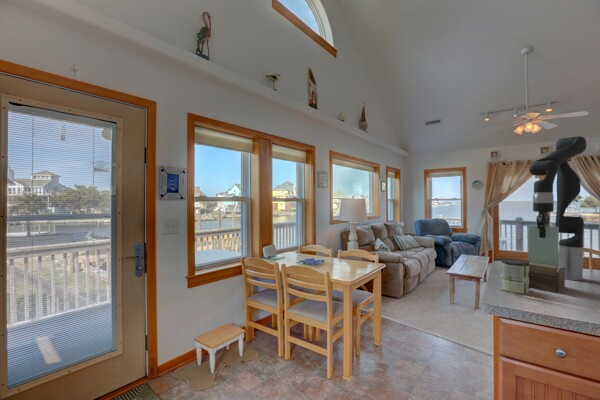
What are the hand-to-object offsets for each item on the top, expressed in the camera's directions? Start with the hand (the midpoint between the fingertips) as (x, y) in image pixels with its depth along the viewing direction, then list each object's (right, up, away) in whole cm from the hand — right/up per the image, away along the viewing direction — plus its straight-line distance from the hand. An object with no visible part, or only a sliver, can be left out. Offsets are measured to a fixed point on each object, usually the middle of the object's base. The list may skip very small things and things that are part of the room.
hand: (542, 237), depth 135 cm
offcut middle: (-2, -23, -2) cm, 23 cm away
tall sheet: (0, -15, 0) cm, 15 cm away
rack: (-4, -24, -3) cm, 24 cm away
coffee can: (-20, -24, -8) cm, 32 cm away
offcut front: (-4, -23, -3) cm, 23 cm away
